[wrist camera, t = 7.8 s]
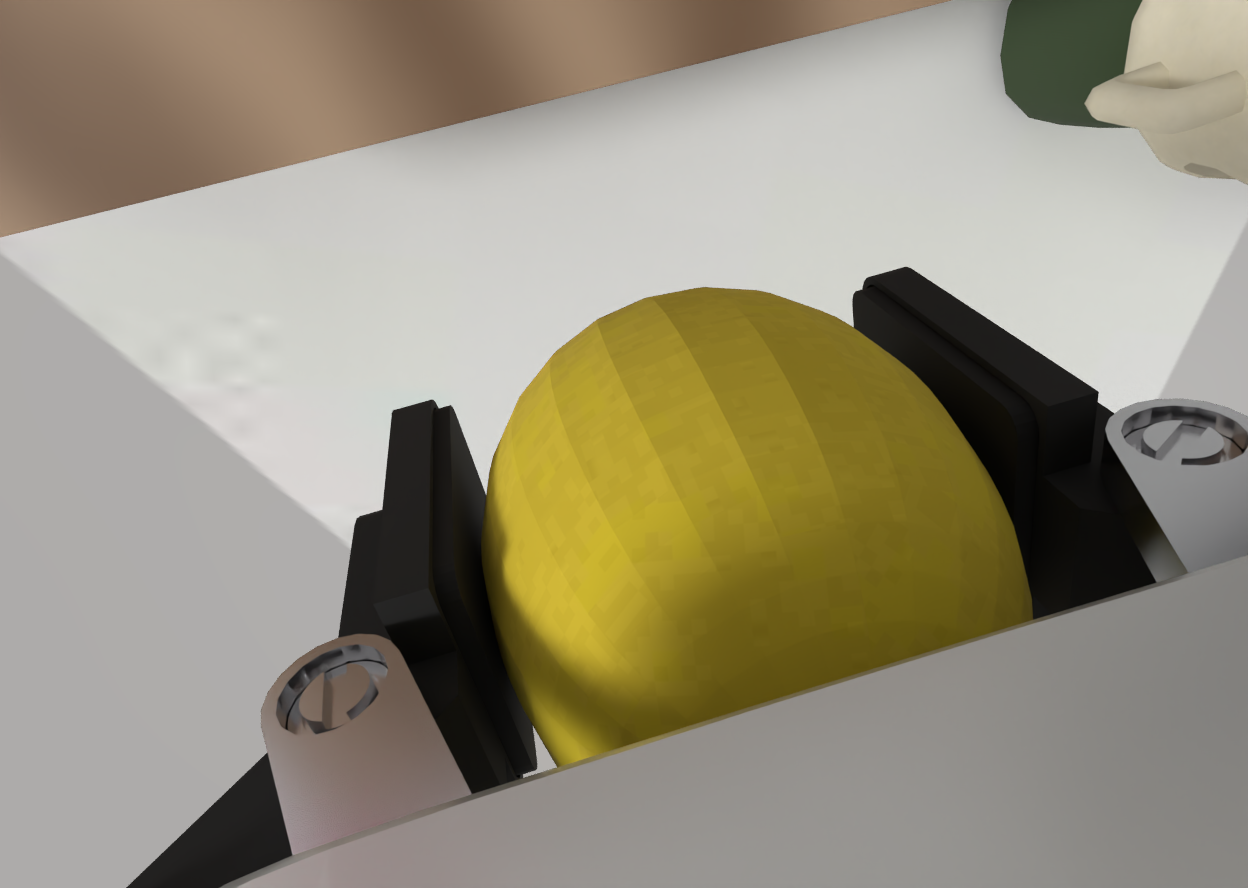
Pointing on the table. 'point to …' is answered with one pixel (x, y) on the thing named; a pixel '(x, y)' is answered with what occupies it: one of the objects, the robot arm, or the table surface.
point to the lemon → (729, 520)
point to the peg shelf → (317, 79)
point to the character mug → (1138, 74)
